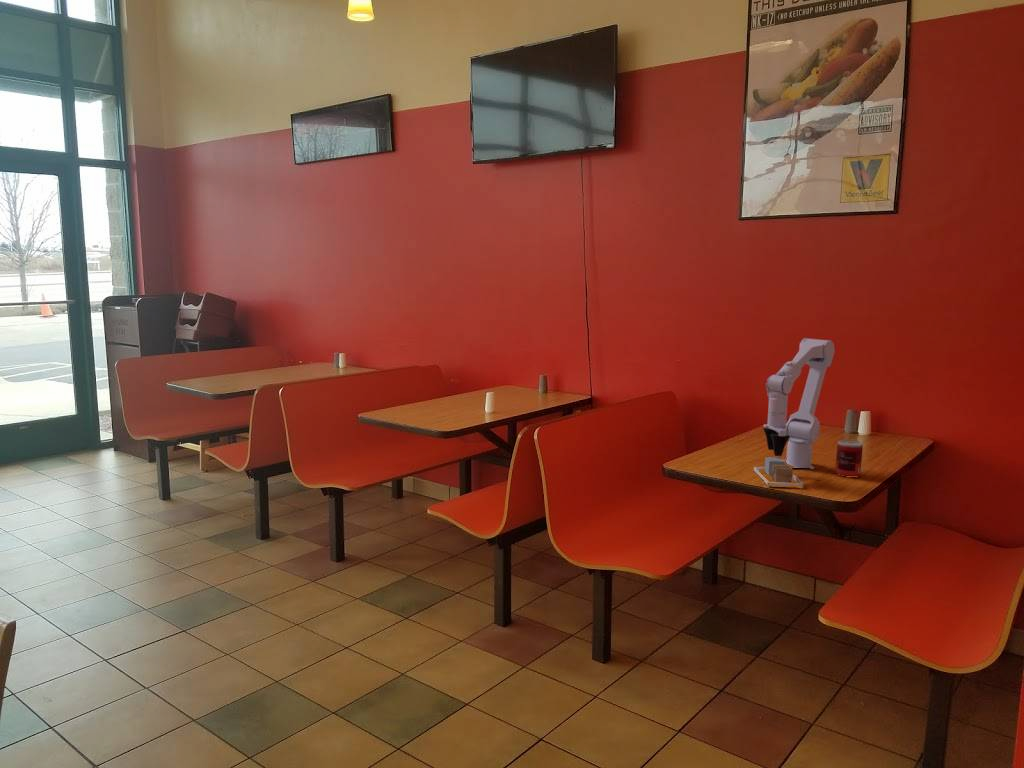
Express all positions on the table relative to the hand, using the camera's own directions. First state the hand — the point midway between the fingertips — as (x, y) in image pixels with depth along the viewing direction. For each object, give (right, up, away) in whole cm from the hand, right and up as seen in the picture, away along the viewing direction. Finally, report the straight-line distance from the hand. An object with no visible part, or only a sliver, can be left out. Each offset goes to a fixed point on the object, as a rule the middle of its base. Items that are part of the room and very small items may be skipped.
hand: (774, 452), depth 254 cm
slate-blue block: (0, -7, +1) cm, 7 cm away
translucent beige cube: (-1, -9, -8) cm, 12 cm away
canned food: (+25, -8, +3) cm, 26 cm away
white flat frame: (0, -8, -4) cm, 9 cm away
